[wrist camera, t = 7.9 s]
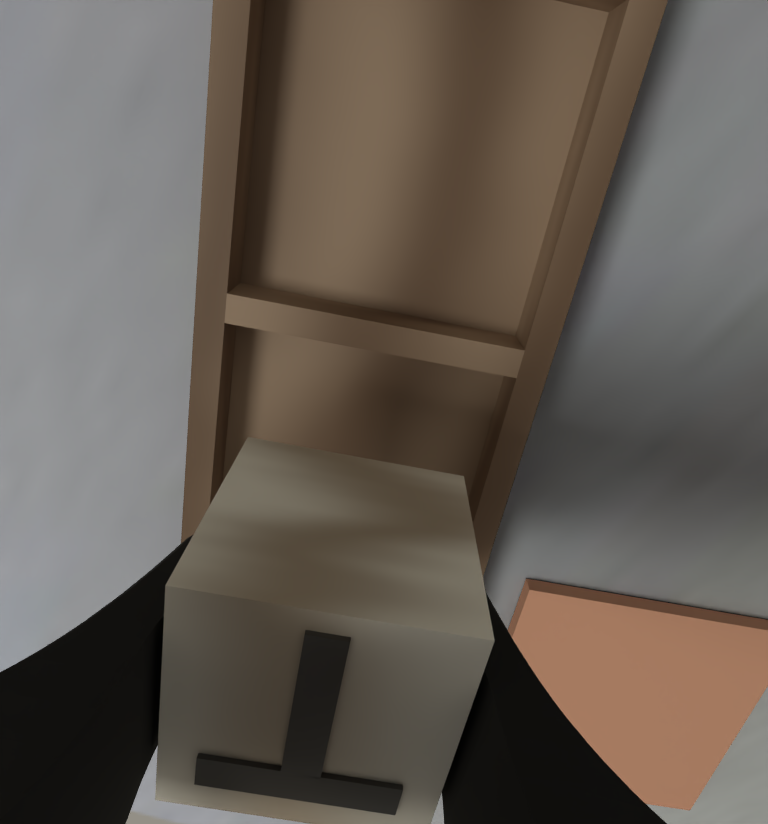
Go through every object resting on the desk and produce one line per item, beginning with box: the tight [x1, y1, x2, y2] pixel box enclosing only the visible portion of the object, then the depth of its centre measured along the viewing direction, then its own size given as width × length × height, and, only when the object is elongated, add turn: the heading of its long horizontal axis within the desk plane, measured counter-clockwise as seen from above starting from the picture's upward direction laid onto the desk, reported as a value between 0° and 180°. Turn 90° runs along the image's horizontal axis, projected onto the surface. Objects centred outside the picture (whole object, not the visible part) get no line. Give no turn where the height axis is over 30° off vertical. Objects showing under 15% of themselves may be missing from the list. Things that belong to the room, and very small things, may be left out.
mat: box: [508, 579, 768, 810], centre depth 23 cm, size 10×10×1 cm
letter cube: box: [155, 437, 495, 824], centre depth 12 cm, size 5×5×5 cm
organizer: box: [181, 0, 668, 576], centre depth 18 cm, size 10×27×2 cm, turn 169°
